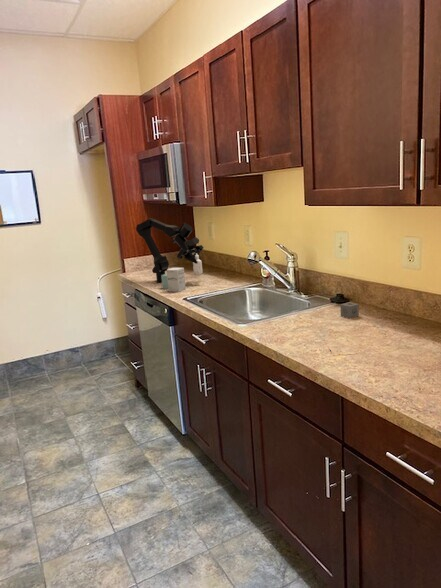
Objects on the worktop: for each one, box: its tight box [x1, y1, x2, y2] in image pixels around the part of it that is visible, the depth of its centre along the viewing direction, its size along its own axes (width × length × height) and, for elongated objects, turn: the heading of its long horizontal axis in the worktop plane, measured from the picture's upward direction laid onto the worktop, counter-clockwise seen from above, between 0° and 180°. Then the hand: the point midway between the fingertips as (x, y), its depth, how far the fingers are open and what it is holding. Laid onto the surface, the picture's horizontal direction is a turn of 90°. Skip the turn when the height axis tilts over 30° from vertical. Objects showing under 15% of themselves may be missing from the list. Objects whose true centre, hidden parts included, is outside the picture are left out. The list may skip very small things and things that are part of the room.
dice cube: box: [340, 301, 360, 319], centre depth 184 cm, size 5×5×5 cm
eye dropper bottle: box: [192, 253, 203, 275], centre depth 265 cm, size 4×6×12 cm
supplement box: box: [166, 267, 187, 293], centre depth 255 cm, size 7×7×13 cm
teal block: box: [161, 273, 168, 290], centre depth 264 cm, size 5×5×8 cm
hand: (199, 262), depth 264 cm, fingers closed on eye dropper bottle, 3 cm apart
